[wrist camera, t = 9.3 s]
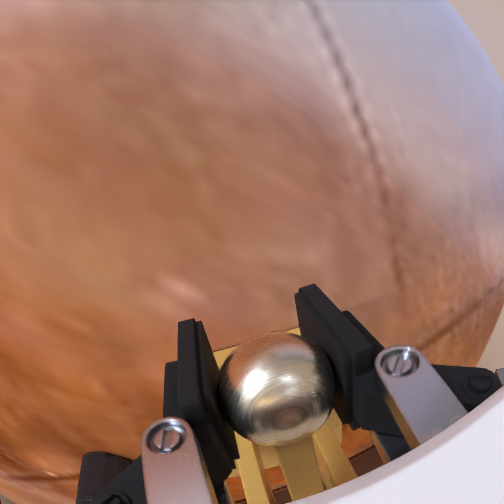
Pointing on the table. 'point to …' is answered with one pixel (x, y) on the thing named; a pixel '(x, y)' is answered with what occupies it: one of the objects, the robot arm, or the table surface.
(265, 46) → the table surface
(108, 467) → the butter churn
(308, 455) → the switch lever
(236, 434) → the bracket
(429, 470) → the robot arm
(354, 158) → the table surface
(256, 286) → the table surface
